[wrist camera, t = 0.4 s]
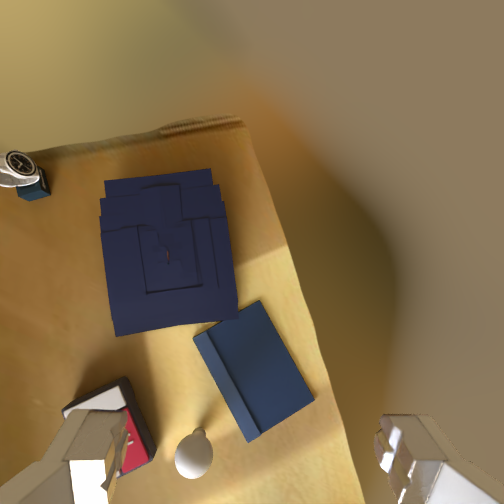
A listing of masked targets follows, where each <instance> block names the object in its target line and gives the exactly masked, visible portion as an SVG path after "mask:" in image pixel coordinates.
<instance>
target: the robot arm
mask: <svg viewBox="0 0 504 504" xmlns="http://www.w3.org/2000/svg"><path fill="white" fill-rule="evenodd" d="M127 421H128V416H127V411H125V410H103V409H73V410H72V411H71V412H70V413H69V414H68V416H67V418H66V419H65V421H64V423H63V424H62V426H61V428H60V429H59V431H58V433H57V434H56V436H55V438H54V439H53V441H52V443H51V444H50V446H49V448H48V449H47V451H46V453H45V454H44V456H43V458H42V459H41V461H38V462H33V463H32V464H30V465H29V466H28V467H26V468H25V469H24V470H22V471H21V472H20V473H18V474H17V475H16V476H14V477H13V478H12V479H10V480H9V481H8V482H6V483H5V484H4V485H2V486H1V487H0V504H110V502H111V499H112V496H113V493H114V490H115V487H116V484H117V478H116V473H117V472H118V471H119V470H120V469H121V468H122V466H123V463H124V460H125V456H126V451H127V447H128V430H127V429H126V428H125V426H126V423H127ZM379 424H380V426H381V429H380V430H379V431H378V432H377V433H376V435H375V439H374V450H375V454H376V458H377V460H378V462H379V464H380V466H381V467H382V468H383V469H384V470H385V471H386V472H387V473H388V474H389V475H388V483H389V485H390V487H391V490H392V492H393V493H394V496H395V498H396V500H397V502H398V504H504V485H503V484H502V483H501V482H499V481H498V480H496V479H495V478H493V477H492V476H490V475H489V474H488V473H486V472H485V471H483V470H482V469H480V468H479V467H478V466H476V465H474V464H473V463H472V462H470V461H465V460H464V459H463V457H462V456H461V455H460V454H459V452H458V451H457V449H456V448H455V447H454V446H453V444H452V443H451V442H450V440H449V439H448V438H447V436H446V435H445V434H444V432H443V431H442V430H441V428H440V427H439V426H438V424H437V423H436V422H435V421H434V419H433V418H432V417H431V416H429V415H428V414H413V415H412V414H384V415H382V416H381V418H380V422H379Z"/></svg>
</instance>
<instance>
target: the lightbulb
mask: <svg viewBox="0 0 504 504" xmlns="http://www.w3.org/2000/svg"><path fill="white" fill-rule="evenodd" d="M212 459H213V449H212V445H211V443H210V441H209V440H208V439H207V438H206V433H205V430H204V429H203V428H196V429H195V430H194V431H193V433H192V434H190V435H188V436H186V437H185V438H184V439H182V440H181V442H180V443H179V445H178V446H177V449H176V452H175V464H176V467H177V469H178V471H179V473H180V474H181V475H182V476H184V477H186V478H191V479H193V478H198V477H200V476H202V475H203V474H204V473H205V472H206V471H207V470H208V469H209V467H210V465H211V463H212Z"/></svg>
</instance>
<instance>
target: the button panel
mask: <svg viewBox="0 0 504 504" xmlns="http://www.w3.org/2000/svg"><path fill="white" fill-rule="evenodd" d="M73 409H103V410H125V411H127V416H128V421H127V423H126V426H125V428H126V429H127V430H128V447H127V451H126V456H125V460H124V463H123V466H122V468H121V469H120V470H119V471H118V472H117V473H116V478H119V477H121V476H123V475H125V474H127V473H129V472H131V471H133V470H135V469H137V468H139V467H141V466H143V465H145V464H147V463H149V462H151V461H152V460H153V458H154V456H155V453H156V450H157V449H156V447H155V444H154V442H153V440H152V437H151V435H150V433H149V430H148V428H147V426H146V423H145V421H144V419H143V416H142V414H141V412H140V409H139V407H138V405H137V402H136V400H135V395H134V392H133V390H132V387H131V385H130V383H129V380H128V378H127V377H126V376H124V377H122V378H120V379H118V380H115V381H113V382H111V383H109V384H107V385H105V386H103V387H101V388H99V389H96V390H94V391H92V392H90V393H88V394H86V395H84V396H82V397H80V398H77V399H75V400H73V401H72V402H70V403H69V404H68V405H67V406H65V407H64V408H63V409H62V411H61V412H62V414H63V417H64V419H66V418H67V416H68V414H69V413H70V412H71V411H72V410H73Z"/></svg>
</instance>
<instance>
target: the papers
mask: <svg viewBox="0 0 504 504" xmlns="http://www.w3.org/2000/svg"><path fill="white" fill-rule="evenodd" d="M104 184H105V192H106V198H100V205H101V216H99V218H100V228H101V241H102V249H103V257H104V265H105V272H106V280H107V288H108V296H109V304H110V309H111V316H112V321H113V324H114V329H115V335H116V337H119V336H124V335H129V334H134V333H140V332H145V331H150V330H156V329H161V328H166V327H171V326H177V325H185V324H195V323H205V322H215V321H224V320H234V319H239V314H238V298H237V289H236V282H235V275H234V268H233V260H232V253H231V245H230V238H229V231H228V223H227V217H226V211H225V205H224V201H222V200H221V193H220V187H219V184H218V185H213V181H212V174H211V168H210V169H202V170H194V171H187V172H179V173H172V174H164V175H156V176H146V177H136V178H126V179H116V180H106V181H104Z"/></svg>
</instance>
